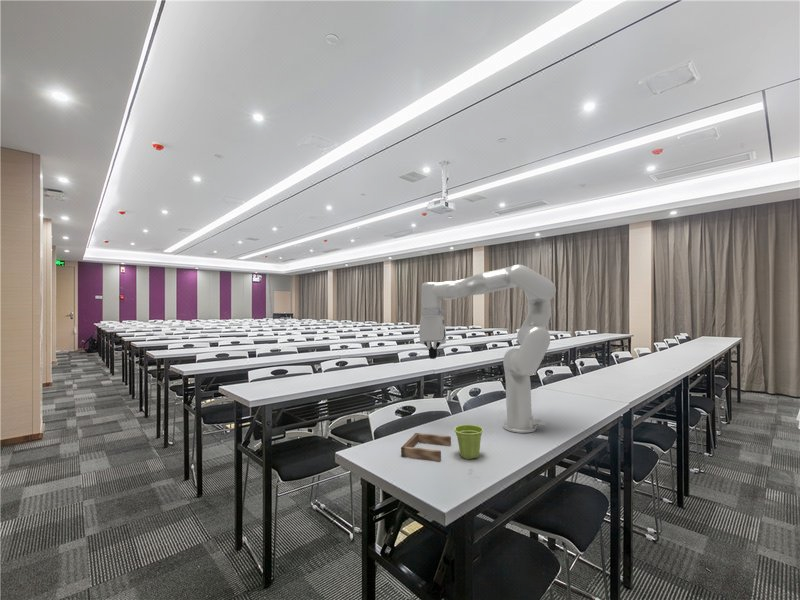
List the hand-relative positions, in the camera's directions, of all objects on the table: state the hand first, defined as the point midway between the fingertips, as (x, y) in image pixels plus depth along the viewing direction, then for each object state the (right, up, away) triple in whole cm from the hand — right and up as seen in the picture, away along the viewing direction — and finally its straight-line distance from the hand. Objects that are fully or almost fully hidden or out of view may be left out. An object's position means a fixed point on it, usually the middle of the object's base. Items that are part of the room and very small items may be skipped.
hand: (433, 358), depth 145 cm
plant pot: (+10, -28, -26) cm, 39 cm away
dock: (-4, -28, -21) cm, 35 cm away
